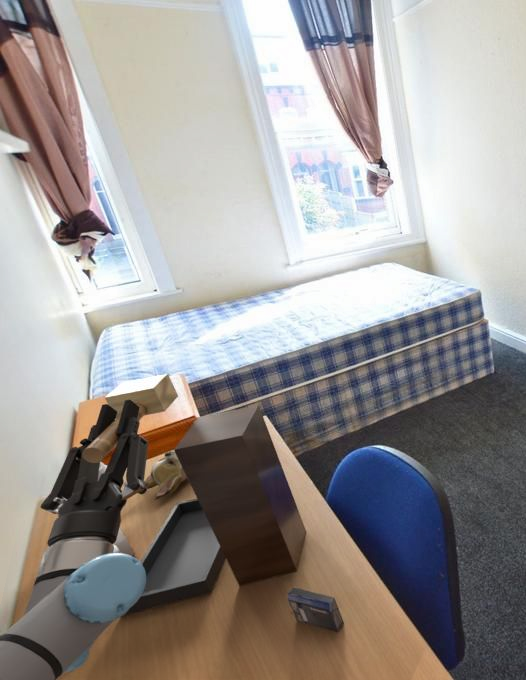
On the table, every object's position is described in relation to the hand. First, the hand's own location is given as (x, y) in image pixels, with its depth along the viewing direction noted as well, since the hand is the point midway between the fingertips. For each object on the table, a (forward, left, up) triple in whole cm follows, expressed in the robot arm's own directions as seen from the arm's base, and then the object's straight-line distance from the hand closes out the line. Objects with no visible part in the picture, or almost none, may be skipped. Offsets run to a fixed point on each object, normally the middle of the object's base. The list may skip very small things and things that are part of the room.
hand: (121, 406), depth 81 cm
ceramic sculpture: (-24, +16, -34) cm, 45 cm away
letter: (-19, -2, -34) cm, 39 cm away
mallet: (0, -1, -4) cm, 4 cm away
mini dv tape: (+37, -8, -34) cm, 50 cm away
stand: (+19, +2, -34) cm, 38 cm away
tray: (0, 0, -34) cm, 34 cm away
